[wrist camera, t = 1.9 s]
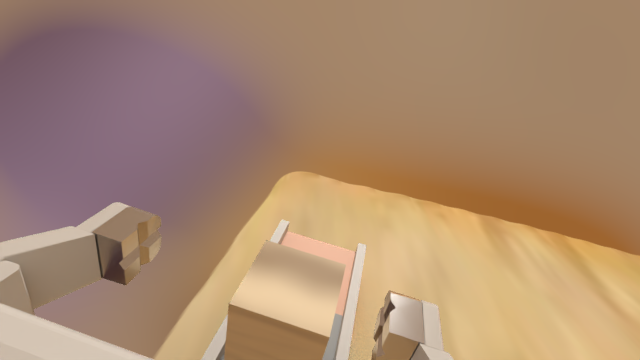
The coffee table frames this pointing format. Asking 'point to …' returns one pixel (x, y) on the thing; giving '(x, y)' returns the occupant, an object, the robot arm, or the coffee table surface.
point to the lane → (347, 300)
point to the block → (283, 306)
